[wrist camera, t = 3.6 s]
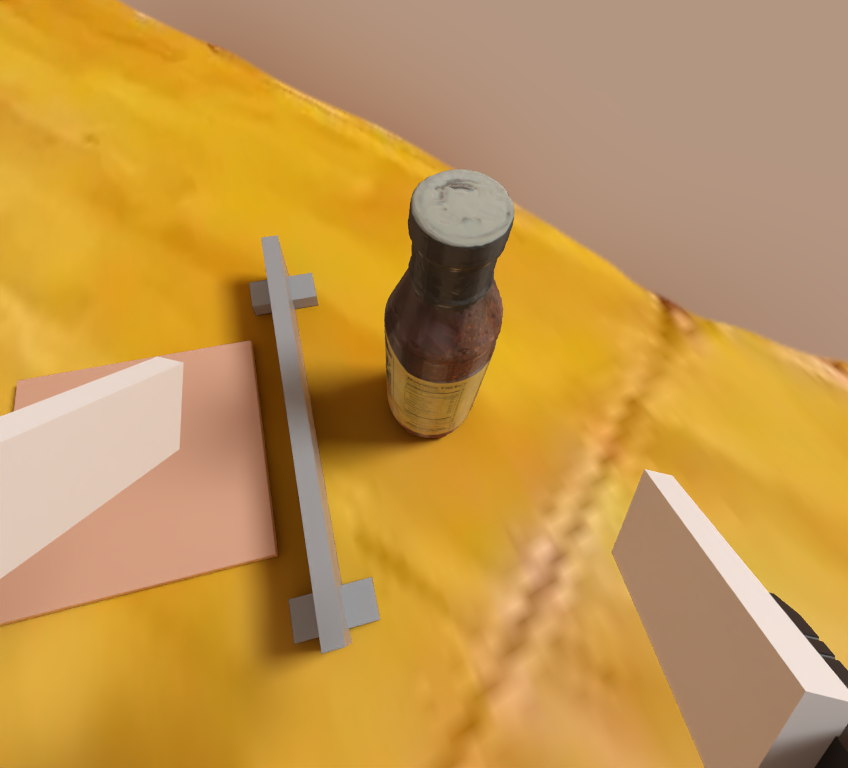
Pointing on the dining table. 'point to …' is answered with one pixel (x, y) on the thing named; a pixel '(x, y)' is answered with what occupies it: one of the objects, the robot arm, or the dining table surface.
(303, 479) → the grey wall
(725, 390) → the dining table surface
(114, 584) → the terracotta tile
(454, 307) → the sauce bottle
